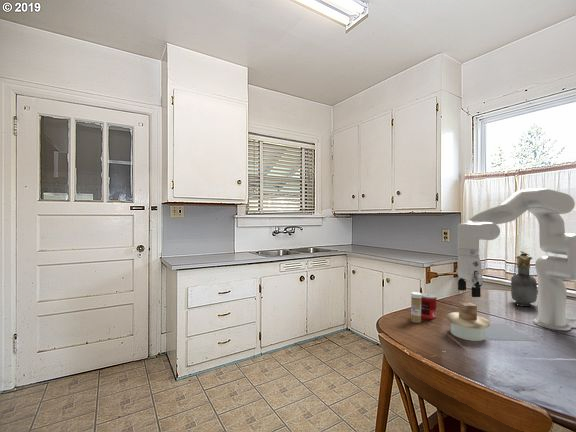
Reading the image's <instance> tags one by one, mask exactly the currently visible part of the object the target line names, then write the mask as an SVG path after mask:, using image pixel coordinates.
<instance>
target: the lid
mask: <svg viewBox="0 0 576 432" xmlns="http://www.w3.org/2000/svg"><path fill="white" fill-rule="evenodd" d="M446 319H447V320H448V321H449V322H450V323H451V322H452V323H454V324H457V325H460V326H463V327H468V328H476V329H483V328H488V327H489V326H490V323H491V322H490V320H489V319H487V318H486V317H483V316H481V315H478V305H476V304H474V303H472V302H458V311H454V312H449V313H447V314H446Z"/></svg>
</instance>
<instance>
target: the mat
mask: <svg viewBox="0 0 576 432" xmlns="http://www.w3.org/2000/svg"><path fill="white" fill-rule="evenodd" d="M485 339H488V340H489V341H511V342H512V341H518V342H519V341H520V342H522V341H523V342H537V340H536V339H534V338H532V337H530V336H528V335H527V334H525V333H523V332H521V331H519V330H517V329H516V328H514V327H512V326H510V325H508V324H506V323H504V322H503V323H502V322H501V323H500V322H499V323H498V322H490V326H489V327H488V328H485Z"/></svg>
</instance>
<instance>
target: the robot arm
mask: <svg viewBox="0 0 576 432" xmlns="http://www.w3.org/2000/svg"><path fill="white" fill-rule="evenodd" d="M575 202H576V201H575V199H574V198H573V197H572V196H571V195H570V194H568V193H566V192H562V191H559V190H554V189H550V188H541V187H539V188H526V189H524V188H523V189H521V190H516V192H514V193H512V194H511V195H510V196H509V197H508V198H506V199H504V201H502V202H501V203H499V204H498V205H495V206H494V207H491V208H488V209H486V210H484V211H481V212H478V213H477V214H475V215H473V216H472V217H470V218H469V219H468V220H466V221H465V222H461V223H458V224H457V268H456V269H455V272H456V273H455V274H456V279H457V290H458V291H467V282H470V284H471V298H481V294H482V293H481V291H482V290H481V288H482V285H483V282H484V277H483V269H482V262H481V258H480V240H481V241H493V240H495V239H497V238H498V237H500V234H501V228H500V226H499V225H502V224H506V223H512V222H513V221H515V220H517V219H518V218H519V217H520V216H522V215H523V214H524V213H526V211H528V212H529V213H530V214H532V215H533V216H534V217H535V218H536V220H537V222H538V229H539V233H538V234H539V236H538V237H539V240H538V241H539V248H540V250H541V251H543V252H545V253H548V254H554V255H562V256H567V257H561V256H552V255H541V256H540V257H538V258H537V259H536V260H535V263H534V264H535V267H534V268H535V271H536V274H537V275H536V276H537V317H536V318H533V321H532V322H533V323H534V324H535V325H537V326H539V327H542V328H545V329H550V330H553V331H561V332H562V331H563V332H565V331H567V332H568V331H570V330H571V329H572V326H571V325H570V323H572V324H576V318H574V317H573V318H571V317H570V318H569V317H568V316H567V286H566V284H565V283H564V281H563V280H565V281H571V282H576V233H567V232H566V230H565V220H564V219H563V217H562V216H561V215H564V214H568V213H570V212H572V211H573V210H574V208H575V205H576V203H575Z"/></svg>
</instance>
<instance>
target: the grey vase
mask: <svg viewBox="0 0 576 432" xmlns="http://www.w3.org/2000/svg"><path fill="white" fill-rule="evenodd" d="M515 258H516V267H517V274H514V275H512V276H511V279H510V295H511V299H512V300H513V301H515V302H514V304H515V303H516V304H518V305H523V306H531V307H532V305H533V303H536V302H537V301H538V282H537V279H536V278H535V277H533V276H531V275H530V268H531V260H533V257H532V256H530V254H529V253H527V252H525V251H522V250H520V255H517V256H515ZM516 304H515V305H516ZM518 305H517V306H518Z"/></svg>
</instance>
